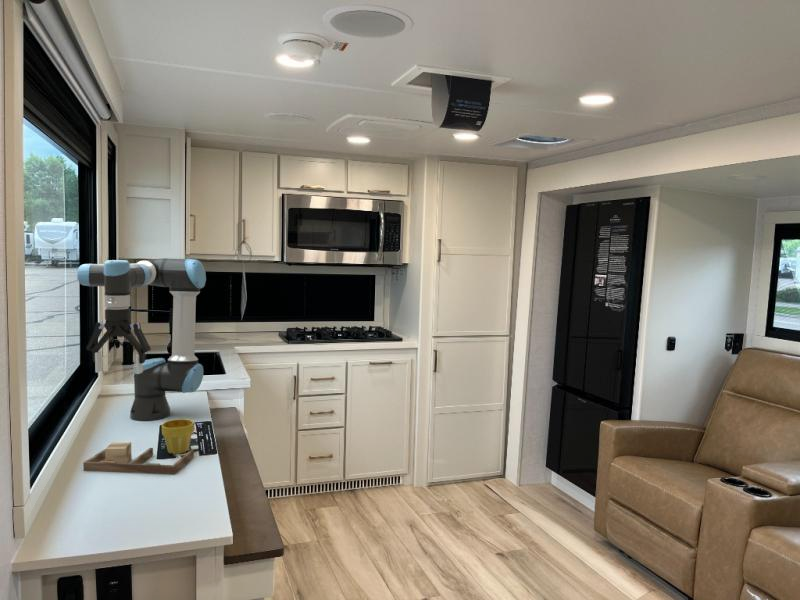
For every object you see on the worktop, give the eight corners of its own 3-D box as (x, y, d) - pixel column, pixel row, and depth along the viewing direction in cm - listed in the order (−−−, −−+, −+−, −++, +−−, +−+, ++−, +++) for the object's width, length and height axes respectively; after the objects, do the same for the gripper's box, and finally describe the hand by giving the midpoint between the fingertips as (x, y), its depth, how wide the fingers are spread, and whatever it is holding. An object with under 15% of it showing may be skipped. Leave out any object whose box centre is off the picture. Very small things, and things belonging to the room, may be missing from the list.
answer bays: (109, 453, 197) (109, 444, 197) (193, 456, 196) (193, 448, 196) (83, 470, 182) (83, 461, 182) (174, 474, 181) (174, 465, 181)
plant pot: (183, 457, 195) (183, 429, 194) (155, 454, 197) (155, 426, 196) (200, 447, 205) (199, 420, 204) (173, 444, 207) (173, 417, 206)
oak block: (112, 460, 192) (111, 442, 191) (131, 459, 192) (131, 442, 192) (105, 467, 186) (105, 448, 185) (125, 466, 186) (125, 448, 186)
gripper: (73, 308, 186) (75, 373, 188) (150, 310, 185) (151, 376, 187) (86, 305, 193) (88, 368, 196) (160, 307, 192) (161, 371, 195)
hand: (119, 372), depth 191 cm, fingers open, 13 cm apart
